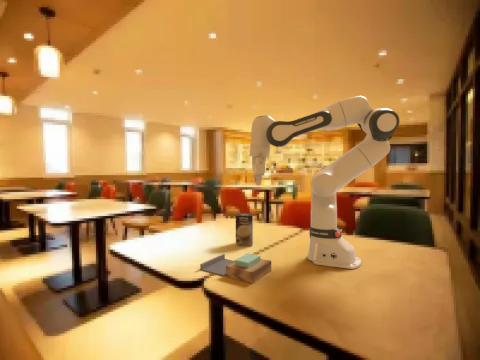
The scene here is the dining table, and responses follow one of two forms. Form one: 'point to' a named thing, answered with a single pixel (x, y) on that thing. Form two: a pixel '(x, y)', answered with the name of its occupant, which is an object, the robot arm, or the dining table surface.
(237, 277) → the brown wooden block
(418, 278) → the dining table surface
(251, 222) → the coffee box
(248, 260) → the pale green rectangular block
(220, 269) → the tray
